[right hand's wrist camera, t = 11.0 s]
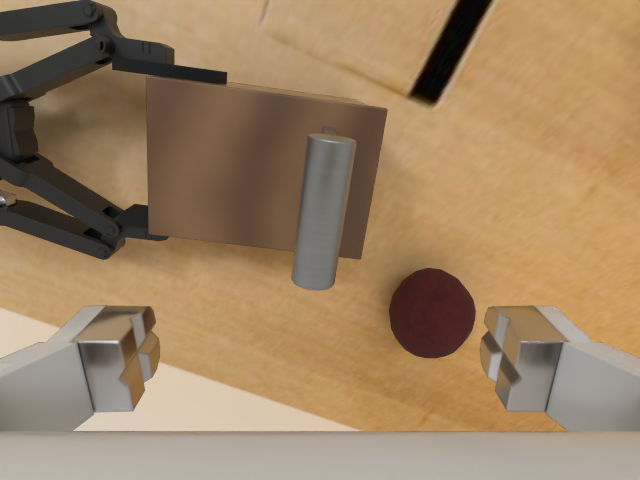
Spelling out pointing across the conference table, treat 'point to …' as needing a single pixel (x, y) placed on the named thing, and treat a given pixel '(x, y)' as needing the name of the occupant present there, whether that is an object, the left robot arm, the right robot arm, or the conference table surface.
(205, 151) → the lid
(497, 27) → the conference table surface
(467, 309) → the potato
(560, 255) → the conference table surface
